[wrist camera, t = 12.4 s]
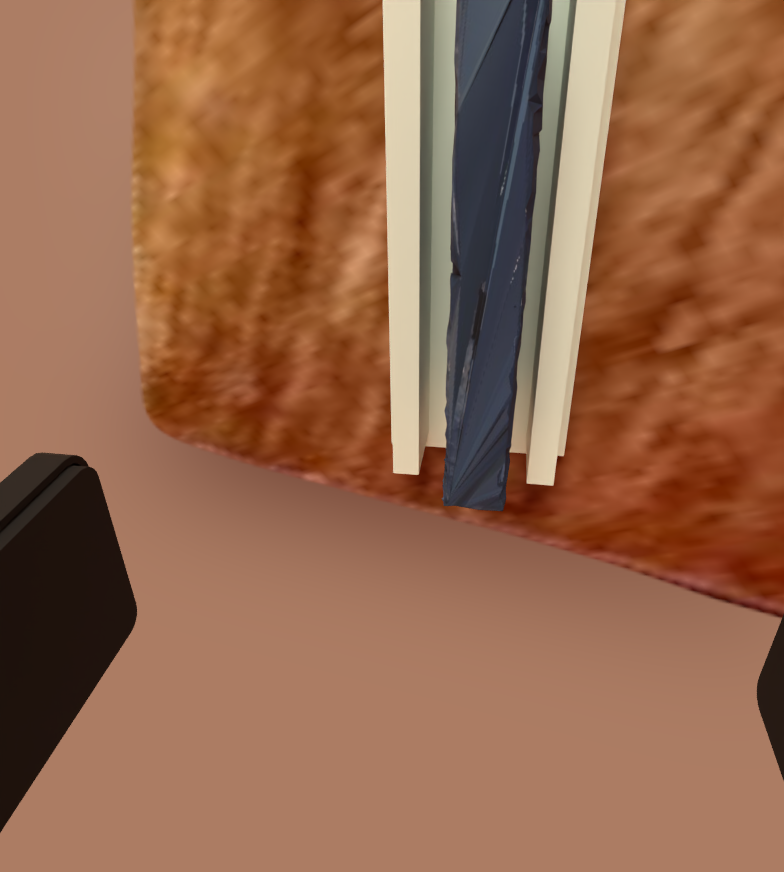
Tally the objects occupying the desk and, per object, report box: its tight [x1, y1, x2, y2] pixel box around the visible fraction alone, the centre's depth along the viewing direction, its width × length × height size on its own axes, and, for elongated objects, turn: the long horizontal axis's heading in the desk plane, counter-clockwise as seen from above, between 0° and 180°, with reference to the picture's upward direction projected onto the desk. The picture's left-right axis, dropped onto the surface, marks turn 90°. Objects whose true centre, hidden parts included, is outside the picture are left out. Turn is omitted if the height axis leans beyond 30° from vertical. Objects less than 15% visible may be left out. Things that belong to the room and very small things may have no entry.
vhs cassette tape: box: [442, 0, 552, 511], centre depth 25 cm, size 18×3×10 cm, turn 179°
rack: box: [383, 0, 626, 486], centre depth 27 cm, size 9×25×5 cm, turn 1°
